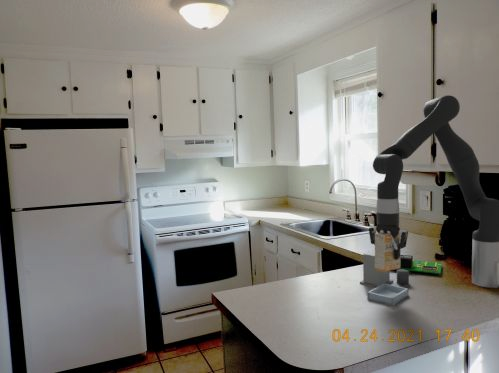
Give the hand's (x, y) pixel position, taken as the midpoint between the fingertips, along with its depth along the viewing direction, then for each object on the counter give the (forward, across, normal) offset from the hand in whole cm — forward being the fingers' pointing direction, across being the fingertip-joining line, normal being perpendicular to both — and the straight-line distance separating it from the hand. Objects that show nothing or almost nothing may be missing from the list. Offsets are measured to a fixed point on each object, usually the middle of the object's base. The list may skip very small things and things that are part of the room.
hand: (387, 257), depth 142 cm
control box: (+15, -10, +11) cm, 21 cm away
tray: (+15, 0, 0) cm, 15 cm away
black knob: (+15, -2, +17) cm, 23 cm away
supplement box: (+4, 0, 0) cm, 4 cm away
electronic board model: (+15, -11, +38) cm, 42 cm away
